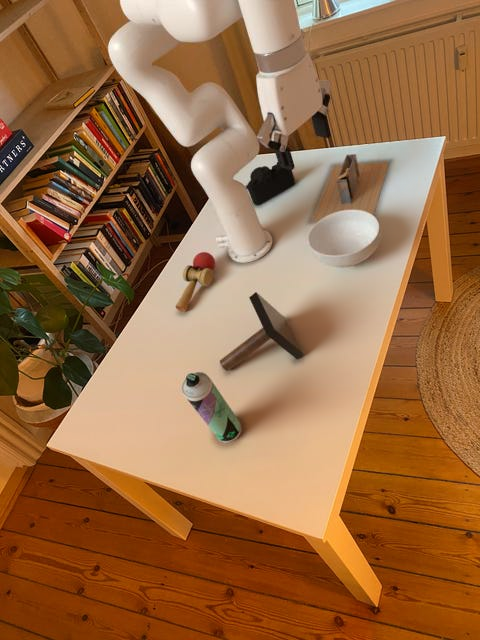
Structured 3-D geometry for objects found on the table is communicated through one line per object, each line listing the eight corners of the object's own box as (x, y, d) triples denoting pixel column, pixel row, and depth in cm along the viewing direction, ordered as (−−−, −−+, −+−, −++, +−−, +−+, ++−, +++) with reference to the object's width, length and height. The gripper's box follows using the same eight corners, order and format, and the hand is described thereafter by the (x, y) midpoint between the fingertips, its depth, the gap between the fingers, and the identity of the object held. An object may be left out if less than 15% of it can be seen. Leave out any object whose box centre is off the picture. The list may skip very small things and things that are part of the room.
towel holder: (285, 319, 113) (271, 284, 105) (305, 356, 105) (291, 321, 96) (217, 351, 114) (198, 319, 105) (231, 390, 105) (211, 358, 97)
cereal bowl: (385, 227, 122) (382, 205, 117) (380, 276, 112) (376, 253, 107) (319, 233, 128) (313, 212, 123) (308, 279, 119) (301, 258, 114)
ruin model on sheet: (372, 220, 125) (366, 189, 118) (311, 221, 133) (303, 192, 126) (389, 161, 138) (385, 130, 131) (333, 165, 146) (327, 136, 139)
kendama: (200, 316, 125) (225, 260, 132) (185, 303, 121) (212, 245, 128) (179, 316, 130) (204, 261, 137) (164, 303, 126) (191, 247, 133)
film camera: (284, 171, 152) (276, 146, 146) (298, 184, 146) (291, 158, 139) (242, 195, 152) (232, 171, 145) (255, 209, 145) (245, 184, 138)
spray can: (215, 422, 101) (175, 368, 87) (240, 415, 100) (204, 360, 86) (217, 445, 98) (175, 394, 84) (242, 439, 97) (205, 385, 82)
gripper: (299, 25, 79) (321, 121, 91) (225, 82, 74) (258, 175, 87) (335, 25, 74) (353, 127, 86) (257, 86, 70) (288, 185, 82)
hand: (305, 151), depth 87 cm, fingers open, 9 cm apart
